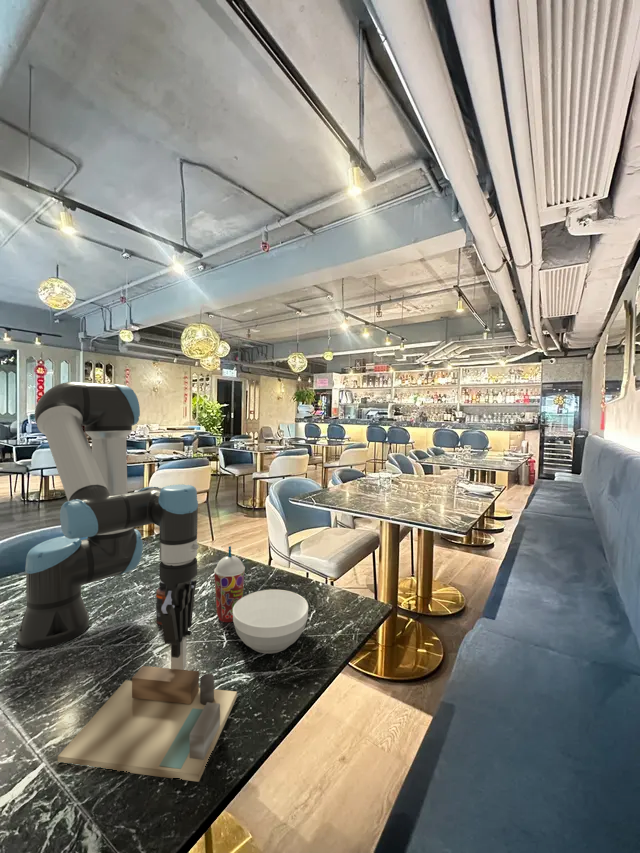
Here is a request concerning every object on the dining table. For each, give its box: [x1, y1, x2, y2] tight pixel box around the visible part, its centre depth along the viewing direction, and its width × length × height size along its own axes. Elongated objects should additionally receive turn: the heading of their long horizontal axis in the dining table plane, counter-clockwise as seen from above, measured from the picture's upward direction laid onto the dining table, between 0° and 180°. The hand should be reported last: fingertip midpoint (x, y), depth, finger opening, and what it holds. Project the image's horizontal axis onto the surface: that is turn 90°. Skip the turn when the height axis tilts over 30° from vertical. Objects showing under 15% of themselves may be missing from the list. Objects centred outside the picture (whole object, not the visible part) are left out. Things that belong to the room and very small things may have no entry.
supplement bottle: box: [155, 579, 166, 626], centre depth 106 cm, size 6×6×11 cm
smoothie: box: [213, 545, 246, 623], centre depth 108 cm, size 8×8×20 cm
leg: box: [131, 665, 200, 704], centre depth 77 cm, size 12×4×4 cm, turn 83°
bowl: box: [233, 589, 309, 655], centre depth 98 cm, size 19×19×9 cm
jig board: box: [57, 673, 238, 783], centre depth 71 cm, size 24×18×6 cm
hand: (178, 667), depth 83 cm, fingers closed
